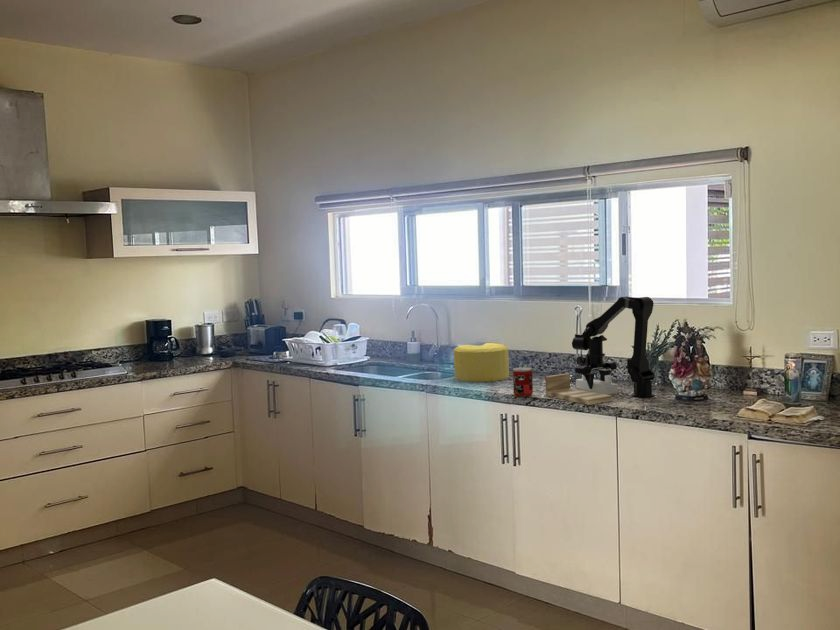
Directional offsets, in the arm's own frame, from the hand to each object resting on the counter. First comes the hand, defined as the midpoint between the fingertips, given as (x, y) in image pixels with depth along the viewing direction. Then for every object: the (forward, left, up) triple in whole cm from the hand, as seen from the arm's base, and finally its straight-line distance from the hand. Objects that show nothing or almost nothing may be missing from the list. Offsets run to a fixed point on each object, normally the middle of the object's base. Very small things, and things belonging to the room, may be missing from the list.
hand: (596, 388), depth 332 cm
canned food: (+14, +28, -1) cm, 31 cm away
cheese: (+63, +14, -1) cm, 65 cm away
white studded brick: (0, 0, -1) cm, 1 cm away
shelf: (-8, +17, -1) cm, 19 cm away
